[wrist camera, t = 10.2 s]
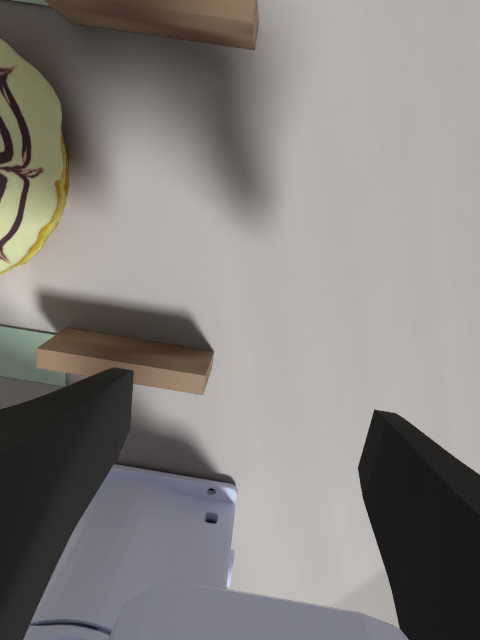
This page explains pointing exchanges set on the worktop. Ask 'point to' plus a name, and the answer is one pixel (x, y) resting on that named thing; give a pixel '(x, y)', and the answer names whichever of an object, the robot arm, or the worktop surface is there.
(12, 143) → the decorated donut
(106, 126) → the worktop surface
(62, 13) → the tunnel walls
